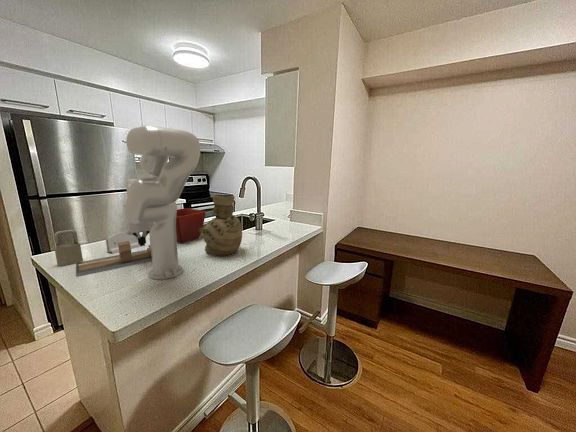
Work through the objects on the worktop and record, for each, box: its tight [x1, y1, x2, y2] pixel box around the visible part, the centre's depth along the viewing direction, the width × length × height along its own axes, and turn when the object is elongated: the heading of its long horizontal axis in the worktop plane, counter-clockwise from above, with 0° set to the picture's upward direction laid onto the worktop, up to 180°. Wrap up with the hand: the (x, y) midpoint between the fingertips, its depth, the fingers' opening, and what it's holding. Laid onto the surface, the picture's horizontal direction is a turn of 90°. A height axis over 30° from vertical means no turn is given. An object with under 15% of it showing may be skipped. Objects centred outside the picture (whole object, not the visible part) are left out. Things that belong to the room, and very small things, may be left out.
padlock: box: [53, 229, 84, 267], centre depth 105 cm, size 4×8×15 cm, turn 144°
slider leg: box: [118, 241, 132, 262], centre depth 108 cm, size 9×4×8 cm, turn 41°
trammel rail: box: [79, 244, 151, 271], centre depth 108 cm, size 9×30×3 cm, turn 131°
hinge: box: [105, 230, 143, 255], centre depth 126 cm, size 17×5×10 cm, turn 150°
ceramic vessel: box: [199, 194, 243, 258], centre depth 120 cm, size 19×21×30 cm
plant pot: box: [176, 207, 206, 244], centre depth 142 cm, size 19×19×17 cm
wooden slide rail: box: [75, 249, 152, 277], centre depth 109 cm, size 14×32×1 cm, turn 131°
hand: (142, 245), depth 111 cm, fingers closed
